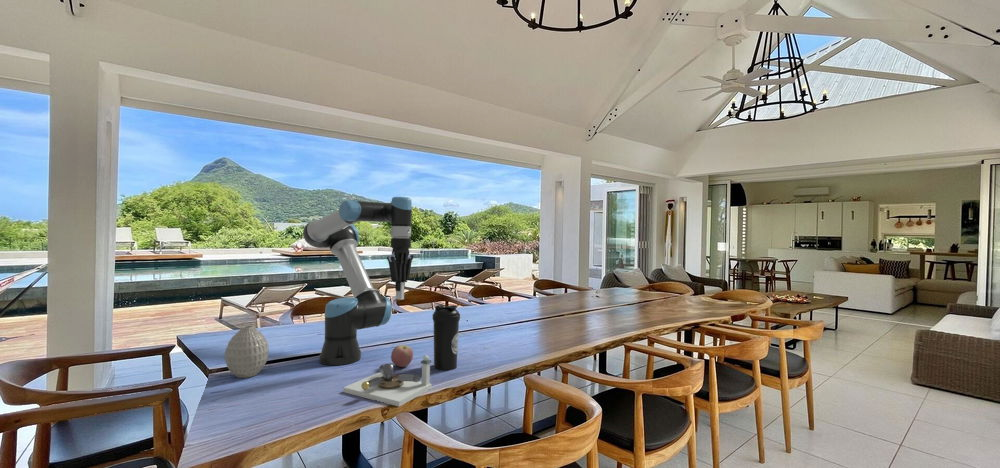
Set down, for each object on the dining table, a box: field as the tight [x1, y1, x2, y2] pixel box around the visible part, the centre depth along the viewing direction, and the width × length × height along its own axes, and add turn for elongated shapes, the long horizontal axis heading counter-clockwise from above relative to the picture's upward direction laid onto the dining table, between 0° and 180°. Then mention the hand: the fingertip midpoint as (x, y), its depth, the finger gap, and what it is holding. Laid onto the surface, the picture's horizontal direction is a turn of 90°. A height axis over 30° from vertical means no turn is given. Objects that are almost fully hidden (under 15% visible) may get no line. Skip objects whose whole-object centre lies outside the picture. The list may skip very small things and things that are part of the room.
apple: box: [390, 344, 414, 368], centre depth 156 cm, size 8×8×8 cm
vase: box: [224, 324, 270, 379], centre depth 144 cm, size 13×13×17 cm
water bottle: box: [432, 304, 461, 372], centre depth 157 cm, size 10×10×23 cm
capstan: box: [361, 362, 421, 390], centre depth 131 cm, size 16×18×6 cm
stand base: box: [343, 355, 433, 408], centre depth 133 cm, size 22×16×11 cm
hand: (399, 299), depth 160 cm, fingers closed
